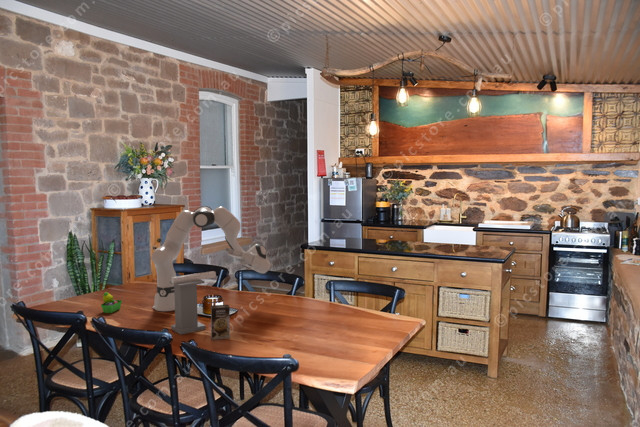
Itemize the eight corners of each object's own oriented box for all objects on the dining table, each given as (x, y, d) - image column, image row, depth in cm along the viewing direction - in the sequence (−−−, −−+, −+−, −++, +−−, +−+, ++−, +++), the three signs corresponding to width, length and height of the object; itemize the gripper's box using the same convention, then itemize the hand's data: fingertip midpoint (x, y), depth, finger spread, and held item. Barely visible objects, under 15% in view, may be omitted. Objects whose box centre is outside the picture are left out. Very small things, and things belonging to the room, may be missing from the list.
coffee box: (211, 340, 249) (211, 308, 247) (211, 336, 255) (210, 305, 254) (230, 338, 251) (229, 307, 250) (229, 334, 257) (228, 303, 256)
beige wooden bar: (213, 276, 275) (213, 271, 275) (215, 277, 273) (215, 272, 272) (171, 282, 260) (171, 277, 260) (173, 283, 258) (173, 278, 257)
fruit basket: (111, 313, 294) (111, 295, 293) (98, 313, 296) (97, 294, 295) (123, 308, 305) (122, 290, 304) (110, 307, 307) (109, 289, 306)
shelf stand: (195, 323, 275) (194, 277, 273) (205, 329, 266) (204, 281, 264) (171, 328, 266) (169, 281, 264) (180, 334, 257) (179, 285, 255)
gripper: (240, 252, 306) (222, 243, 298) (258, 256, 290) (240, 246, 282) (236, 261, 304) (218, 252, 296) (254, 266, 289) (236, 257, 280)
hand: (229, 249), depth 289 cm, fingers open, 8 cm apart
